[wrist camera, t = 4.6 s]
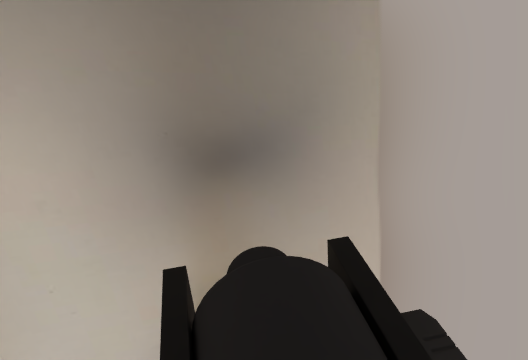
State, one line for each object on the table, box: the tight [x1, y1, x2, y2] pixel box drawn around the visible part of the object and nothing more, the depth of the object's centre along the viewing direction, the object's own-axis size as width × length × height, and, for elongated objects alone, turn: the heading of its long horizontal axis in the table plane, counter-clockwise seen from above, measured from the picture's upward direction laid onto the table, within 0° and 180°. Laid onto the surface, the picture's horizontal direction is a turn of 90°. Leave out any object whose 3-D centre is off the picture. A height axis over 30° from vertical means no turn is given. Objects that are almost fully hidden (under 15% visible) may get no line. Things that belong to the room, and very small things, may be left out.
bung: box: [192, 246, 388, 360], centre depth 12 cm, size 5×5×8 cm
